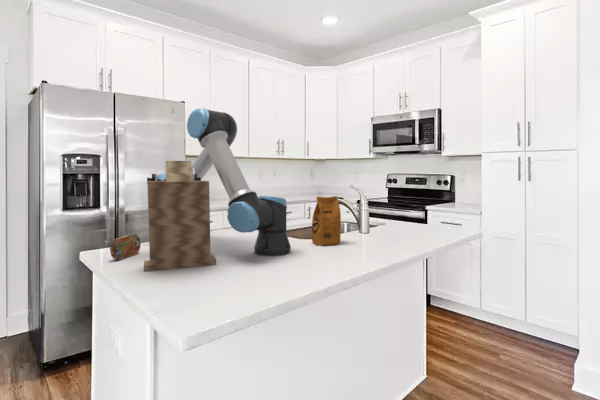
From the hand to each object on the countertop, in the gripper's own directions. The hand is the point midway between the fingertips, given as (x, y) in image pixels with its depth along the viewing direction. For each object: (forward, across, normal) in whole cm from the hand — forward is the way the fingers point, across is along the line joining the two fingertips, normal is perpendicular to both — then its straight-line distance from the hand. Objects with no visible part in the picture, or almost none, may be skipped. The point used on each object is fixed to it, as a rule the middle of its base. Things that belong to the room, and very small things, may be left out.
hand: (175, 170), depth 139 cm
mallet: (+4, 0, -7) cm, 8 cm away
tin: (-24, +19, -25) cm, 40 cm away
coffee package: (-20, -65, -27) cm, 74 cm away
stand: (-6, 0, -35) cm, 36 cm away
